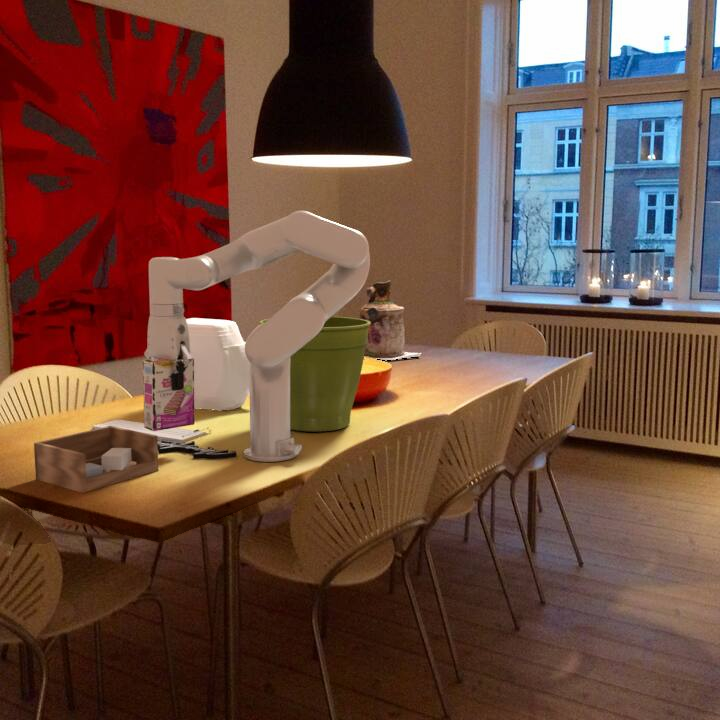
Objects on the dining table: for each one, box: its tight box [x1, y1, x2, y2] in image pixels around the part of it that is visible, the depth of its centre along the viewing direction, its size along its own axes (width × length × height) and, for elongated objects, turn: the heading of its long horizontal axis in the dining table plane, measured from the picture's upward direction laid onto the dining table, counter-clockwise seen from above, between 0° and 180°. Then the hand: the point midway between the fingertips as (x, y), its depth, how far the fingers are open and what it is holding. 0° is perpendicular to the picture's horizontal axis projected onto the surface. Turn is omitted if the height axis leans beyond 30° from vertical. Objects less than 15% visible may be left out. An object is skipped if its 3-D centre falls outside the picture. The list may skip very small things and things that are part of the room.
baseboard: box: [91, 418, 212, 443], centre depth 228 cm, size 31×3×12 cm
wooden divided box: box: [33, 426, 159, 494], centre depth 187 cm, size 16×20×8 cm
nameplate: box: [157, 439, 237, 460], centre depth 208 cm, size 28×2×10 cm
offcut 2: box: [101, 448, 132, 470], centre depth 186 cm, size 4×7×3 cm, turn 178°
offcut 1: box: [86, 463, 103, 478], centre depth 181 cm, size 4×4×4 cm
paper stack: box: [186, 317, 250, 411], centre depth 256 cm, size 21×27×26 cm
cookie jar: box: [358, 280, 422, 362], centre depth 356 cm, size 25×25×32 cm
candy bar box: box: [142, 358, 195, 431], centre depth 202 cm, size 11×5×16 cm, turn 134°
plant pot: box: [259, 316, 370, 433], centre depth 233 cm, size 30×30×29 cm
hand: (168, 387), depth 201 cm, fingers closed on candy bar box, 5 cm apart
